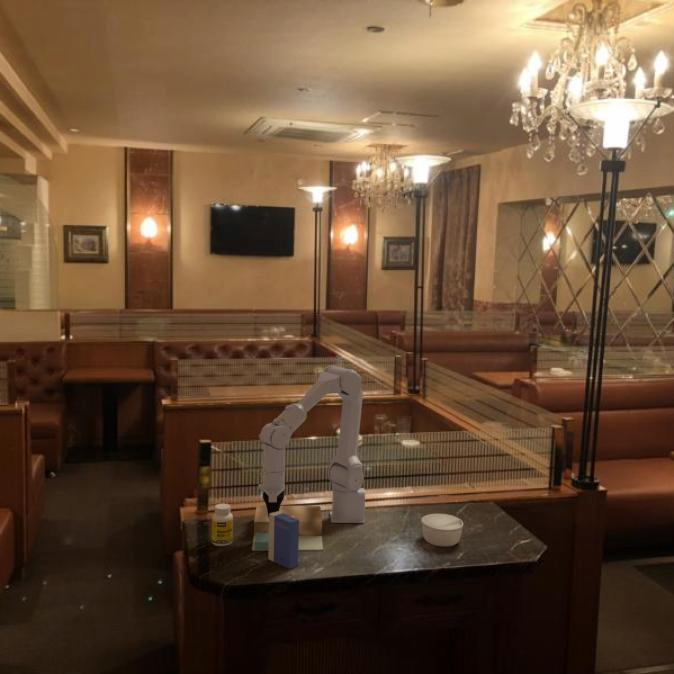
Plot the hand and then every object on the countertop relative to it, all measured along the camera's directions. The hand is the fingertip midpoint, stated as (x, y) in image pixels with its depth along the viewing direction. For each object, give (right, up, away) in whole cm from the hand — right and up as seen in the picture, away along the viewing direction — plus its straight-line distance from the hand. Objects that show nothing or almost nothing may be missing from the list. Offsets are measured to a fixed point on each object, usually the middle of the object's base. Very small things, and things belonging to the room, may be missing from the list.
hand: (273, 519), depth 182 cm
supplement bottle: (-13, -5, -4) cm, 14 cm away
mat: (+4, -5, -3) cm, 8 cm away
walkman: (+4, -7, -15) cm, 17 cm away
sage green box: (0, -3, -5) cm, 6 cm away
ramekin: (+45, -6, +2) cm, 45 cm away
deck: (+3, -4, +7) cm, 9 cm away
